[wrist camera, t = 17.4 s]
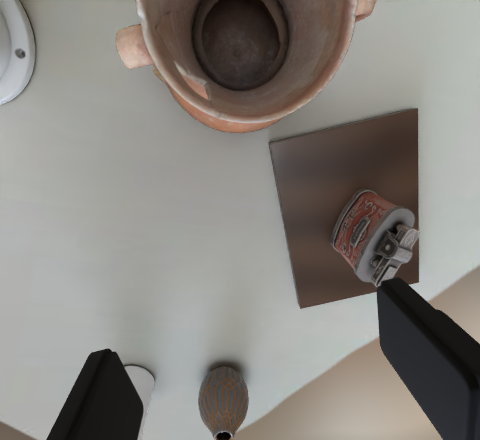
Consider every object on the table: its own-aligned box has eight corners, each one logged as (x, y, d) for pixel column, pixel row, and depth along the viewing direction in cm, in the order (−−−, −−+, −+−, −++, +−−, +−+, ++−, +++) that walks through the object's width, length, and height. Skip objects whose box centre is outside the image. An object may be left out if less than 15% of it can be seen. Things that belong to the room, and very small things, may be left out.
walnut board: (268, 142, 32) (270, 143, 31) (411, 108, 32) (418, 108, 30) (298, 303, 40) (300, 308, 39) (413, 277, 39) (419, 282, 38)
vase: (255, 373, 44) (263, 433, 35) (225, 399, 45) (226, 463, 37) (221, 351, 42) (220, 409, 34) (190, 379, 43) (183, 441, 35)
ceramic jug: (172, 144, 31) (136, 167, 18) (131, -16, 26) (38, -146, 13) (335, 112, 31) (419, 111, 18) (324, -55, 26) (430, -228, 13)
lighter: (356, 184, 33) (409, 212, 24) (381, 194, 34) (443, 225, 24) (324, 244, 35) (361, 291, 26) (348, 253, 36) (392, 302, 27)
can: (111, 396, 44) (73, 494, 32) (109, 362, 41) (67, 455, 30) (155, 396, 44) (132, 493, 33) (155, 364, 42) (130, 455, 31)
